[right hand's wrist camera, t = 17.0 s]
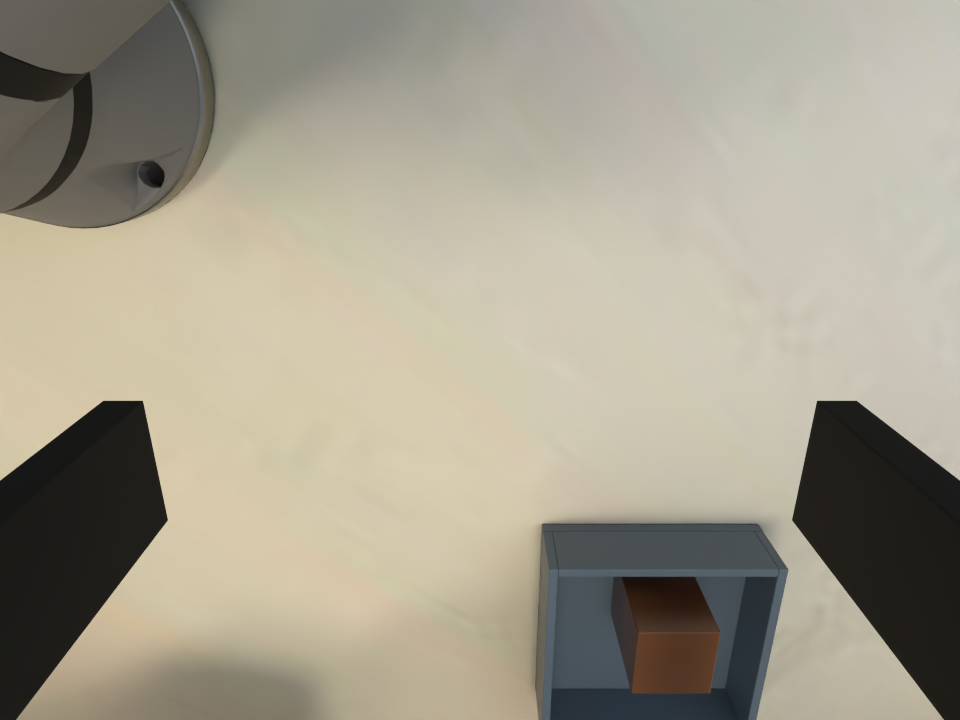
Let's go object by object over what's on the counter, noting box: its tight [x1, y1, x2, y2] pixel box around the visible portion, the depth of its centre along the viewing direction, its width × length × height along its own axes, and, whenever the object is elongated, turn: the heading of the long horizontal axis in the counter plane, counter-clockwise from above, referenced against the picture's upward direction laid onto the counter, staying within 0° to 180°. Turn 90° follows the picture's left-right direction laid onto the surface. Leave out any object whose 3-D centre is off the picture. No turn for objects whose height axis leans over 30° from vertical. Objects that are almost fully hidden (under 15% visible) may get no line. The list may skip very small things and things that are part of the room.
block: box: [611, 577, 721, 693], centre depth 43 cm, size 5×5×7 cm
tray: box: [535, 524, 788, 720], centre depth 46 cm, size 15×25×9 cm, turn 0°
